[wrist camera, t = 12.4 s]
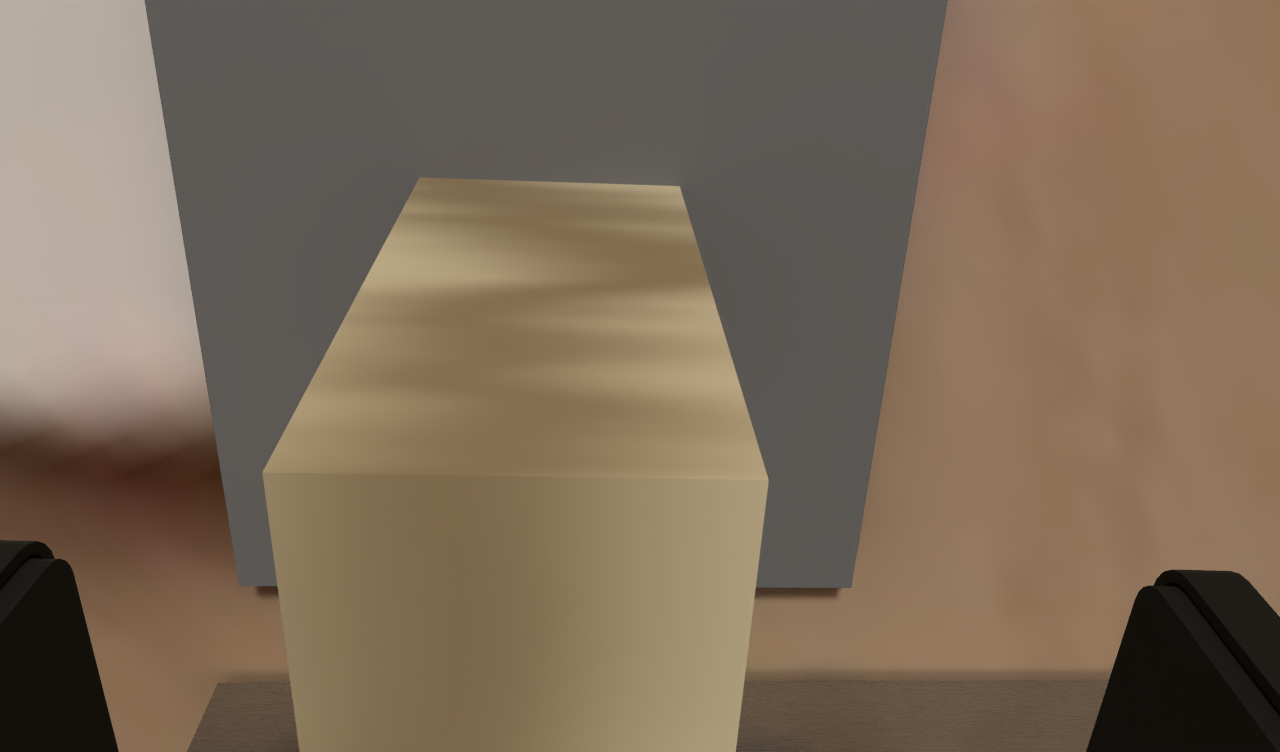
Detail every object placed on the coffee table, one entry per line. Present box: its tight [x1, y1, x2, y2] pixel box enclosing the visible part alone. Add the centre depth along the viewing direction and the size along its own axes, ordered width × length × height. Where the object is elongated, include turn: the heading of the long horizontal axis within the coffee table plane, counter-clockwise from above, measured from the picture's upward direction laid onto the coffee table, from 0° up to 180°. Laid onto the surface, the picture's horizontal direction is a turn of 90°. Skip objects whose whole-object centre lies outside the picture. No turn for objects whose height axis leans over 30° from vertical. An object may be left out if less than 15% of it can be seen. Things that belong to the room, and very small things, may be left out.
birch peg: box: [262, 177, 769, 752], centre depth 14 cm, size 4×4×9 cm
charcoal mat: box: [145, 0, 947, 588], centre depth 18 cm, size 12×12×1 cm
